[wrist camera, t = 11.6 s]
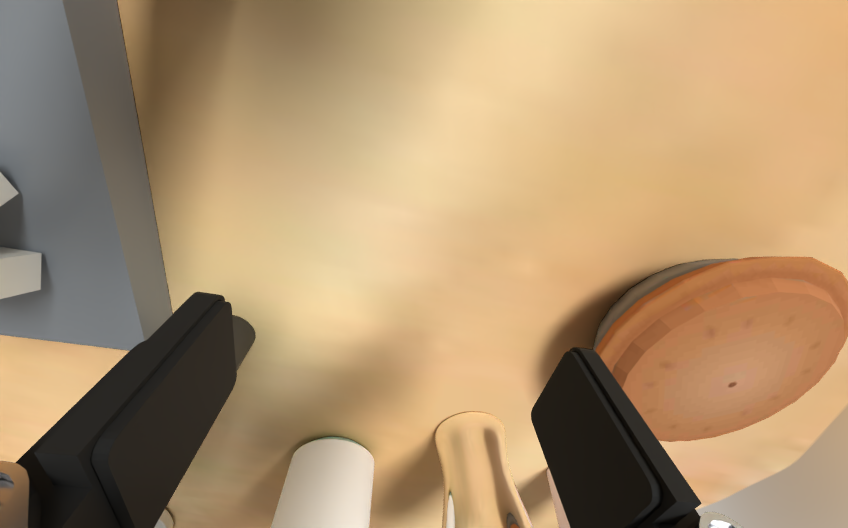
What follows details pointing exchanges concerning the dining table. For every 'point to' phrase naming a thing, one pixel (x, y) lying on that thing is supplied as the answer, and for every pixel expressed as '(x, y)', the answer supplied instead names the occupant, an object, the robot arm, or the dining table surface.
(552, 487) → the smoothie
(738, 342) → the pie
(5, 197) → the middle paddle
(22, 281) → the paddle
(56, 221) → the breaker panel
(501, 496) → the beer glass
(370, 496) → the can
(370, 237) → the dining table surface
